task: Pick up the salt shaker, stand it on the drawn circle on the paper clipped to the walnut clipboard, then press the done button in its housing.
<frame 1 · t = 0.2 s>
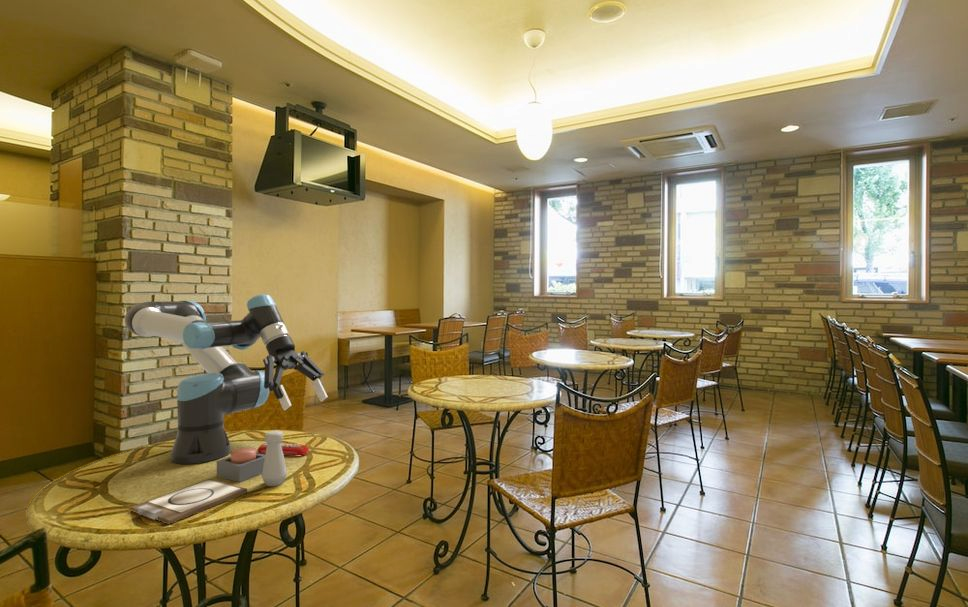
hand: (306, 403, 140), 16 cm above the table, tool tilted 35°, fingers open, 13 cm apart
done button: (243, 456, 128), point 5 cm above the table, slide at 0.0 cm
button housing: (243, 473, 128), on the table
salt shaker: (274, 484, 121), on the table
candy bar: (283, 455, 144), on the table
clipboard: (191, 501, 110), on the table
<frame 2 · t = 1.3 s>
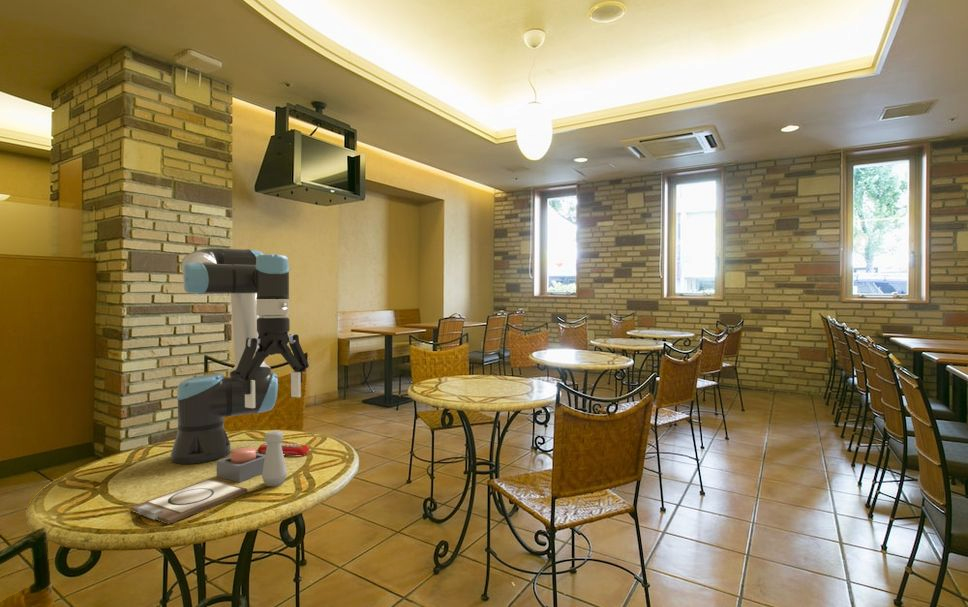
hand: (274, 402, 121), 20 cm above the table, tool pointing down, fingers open, 13 cm apart
nothing on the table moved.
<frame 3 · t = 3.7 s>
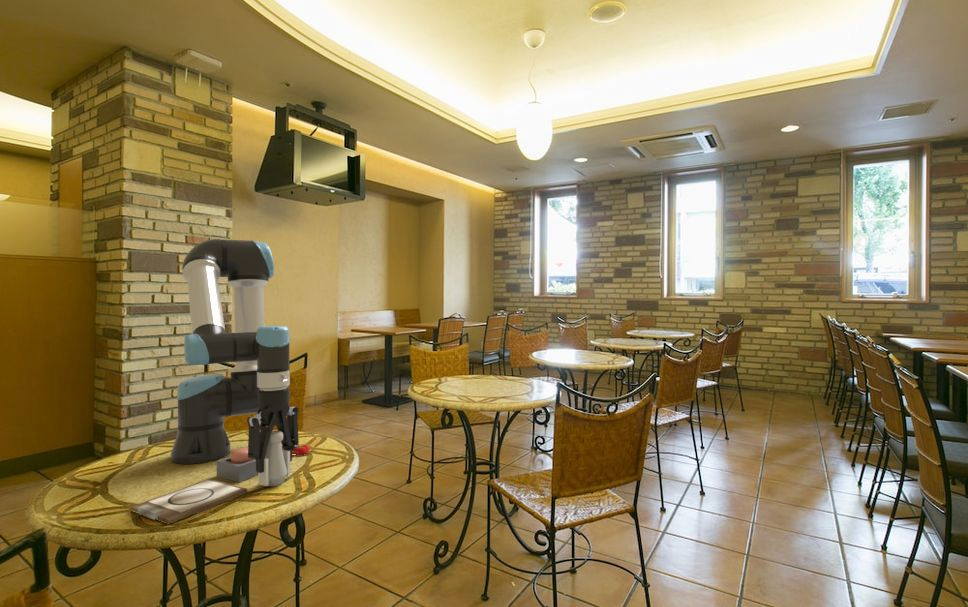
hand: (274, 479, 121), 1 cm above the table, tool pointing down, fingers closed on salt shaker, 6 cm apart
salt shaker: (274, 484, 121), on the table, touching gripper
everything else where it was.
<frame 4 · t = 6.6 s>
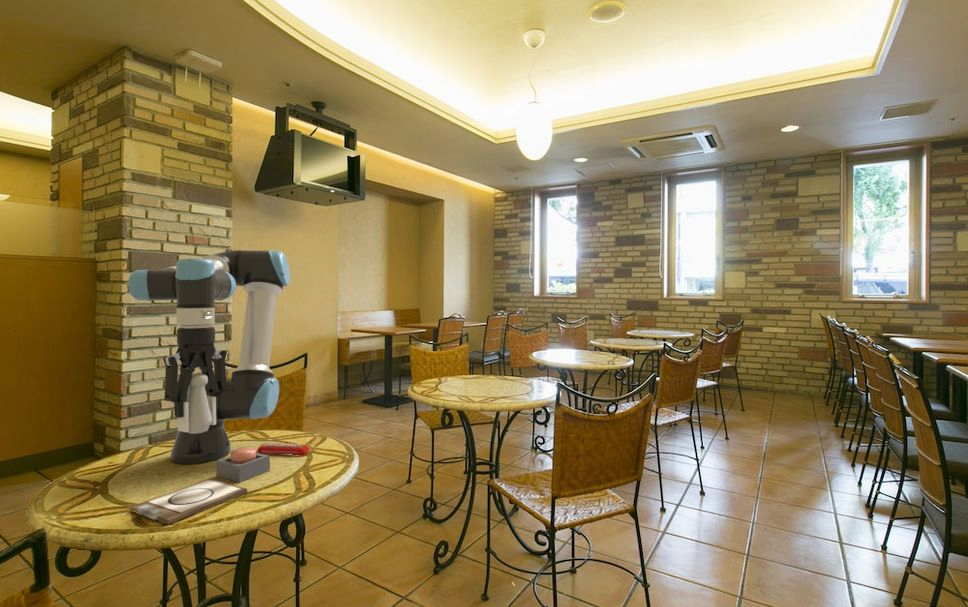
hand: (197, 427, 111), 17 cm above the table, tool pointing down, fingers closed on salt shaker, 6 cm apart
salt shaker: (197, 432, 111), point 16 cm above the table, touching gripper
everything else where it was.
when the fingers open (3 cm above the table, at t = 9.6 s): salt shaker drops 1 cm, resting on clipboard.
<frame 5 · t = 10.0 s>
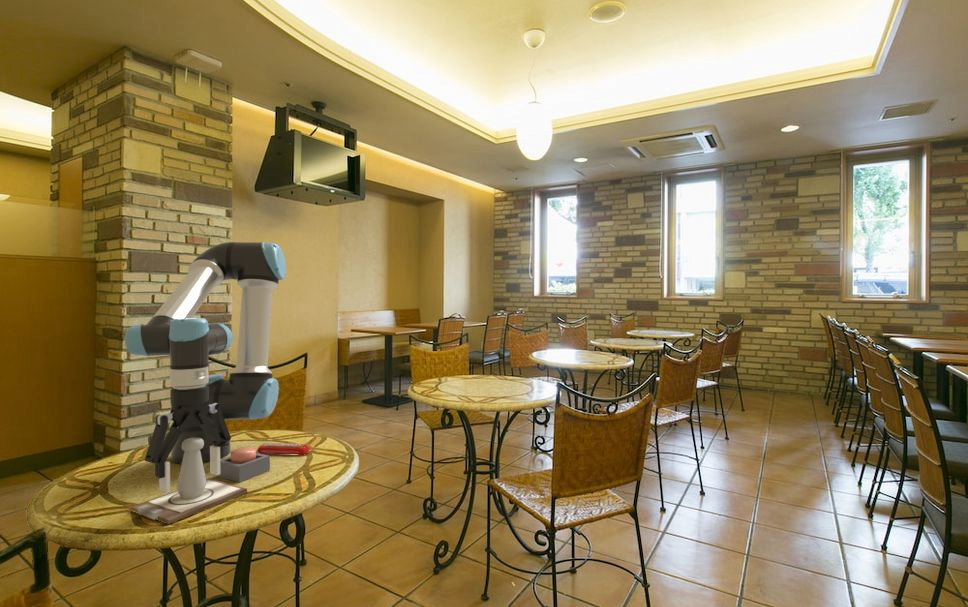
hand: (191, 482, 110), 4 cm above the table, tool pointing down, fingers open, 11 cm apart
salt shaker: (191, 496, 110), point 1 cm above the table, touching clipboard
everything else where it was.
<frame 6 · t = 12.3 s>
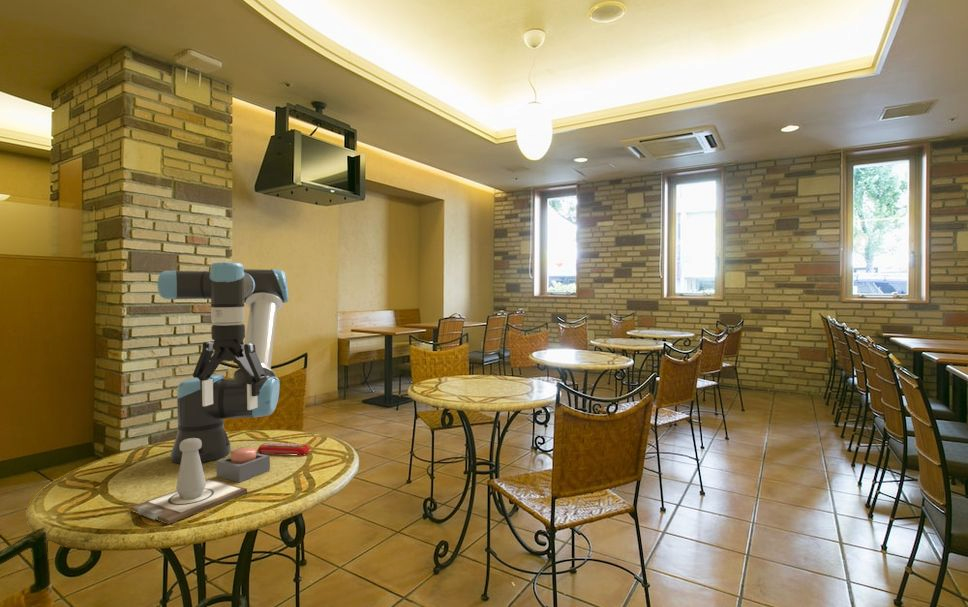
hand: (229, 407, 123), 19 cm above the table, tool pointing down, fingers open, 13 cm apart
nothing on the table moved.
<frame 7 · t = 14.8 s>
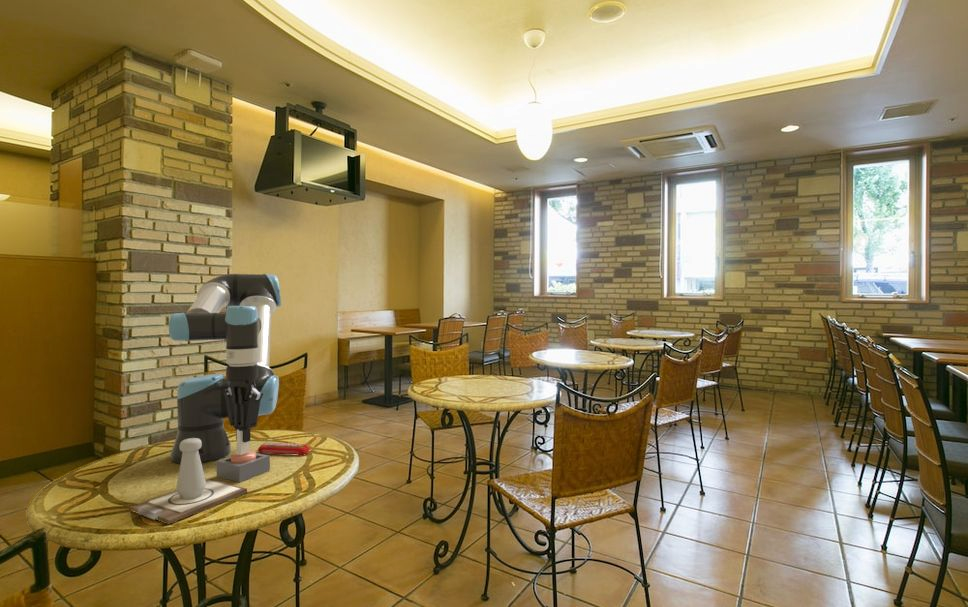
hand: (243, 453, 127), 5 cm above the table, tool pointing down, fingers closed
done button: (243, 459, 128), point 4 cm above the table, slide at 0.9 cm, touching gripper
everything else where it was.
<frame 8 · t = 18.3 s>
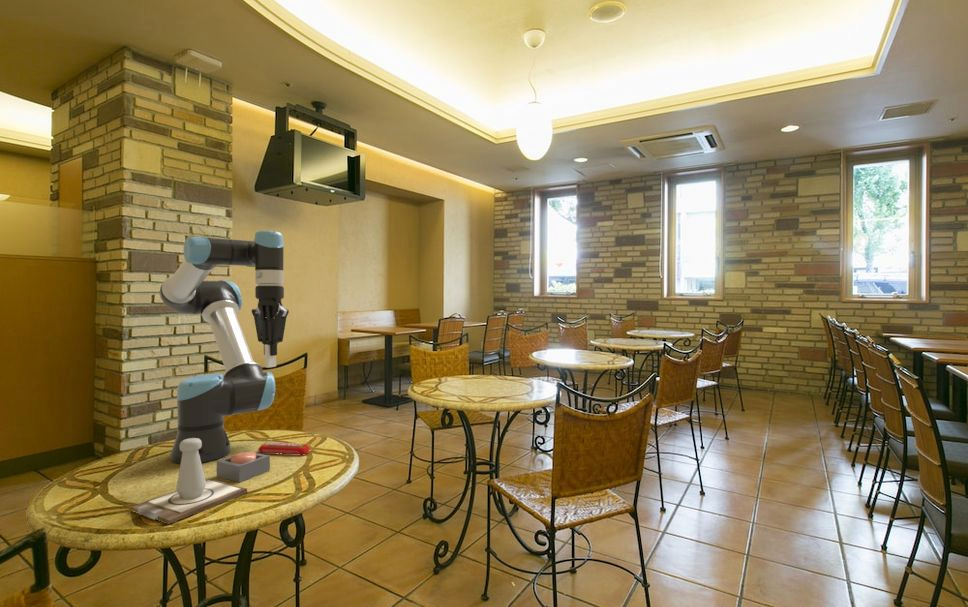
hand: (270, 366, 140), 26 cm above the table, tool pointing down, fingers closed
done button: (243, 461, 128), point 3 cm above the table, slide at 1.3 cm
everything else where it was.
at the end: salt shaker 0.0 cm off-centre on the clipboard, point 1.1 cm above the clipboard's base; salt shaker tilted 0°; done button slide at 1.3 cm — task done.
